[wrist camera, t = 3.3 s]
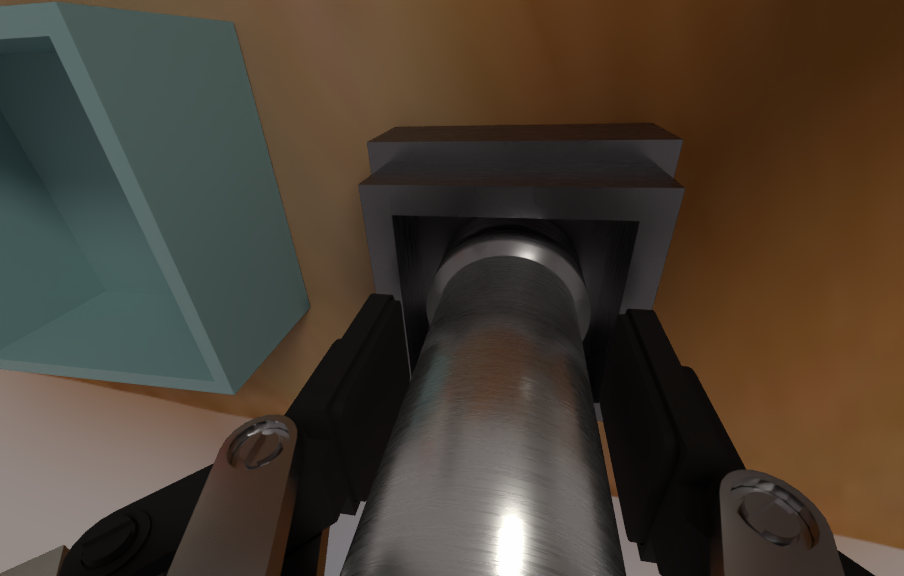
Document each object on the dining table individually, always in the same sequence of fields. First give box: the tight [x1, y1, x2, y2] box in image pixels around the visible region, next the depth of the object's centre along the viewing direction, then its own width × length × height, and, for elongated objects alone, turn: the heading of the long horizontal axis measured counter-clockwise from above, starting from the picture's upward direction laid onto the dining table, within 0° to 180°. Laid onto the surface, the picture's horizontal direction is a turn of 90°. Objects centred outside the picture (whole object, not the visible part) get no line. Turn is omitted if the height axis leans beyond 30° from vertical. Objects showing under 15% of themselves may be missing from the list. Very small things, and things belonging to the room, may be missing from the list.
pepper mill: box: [340, 217, 626, 576], centre depth 8 cm, size 5×5×13 cm
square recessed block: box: [358, 123, 685, 421], centre depth 14 cm, size 9×9×6 cm
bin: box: [0, 2, 310, 395], centre depth 15 cm, size 12×12×6 cm
